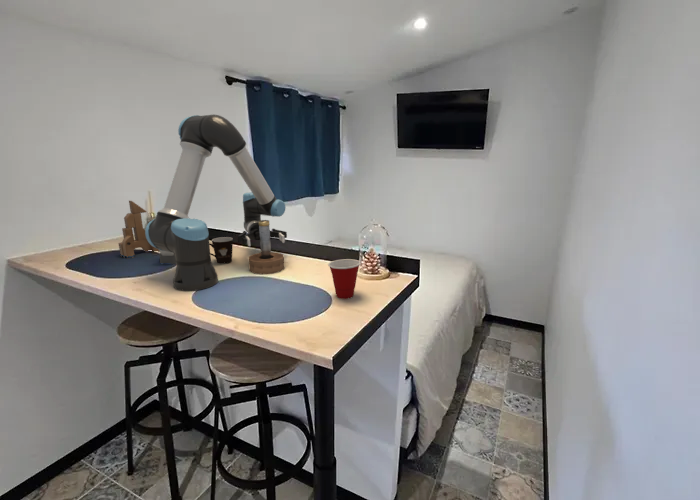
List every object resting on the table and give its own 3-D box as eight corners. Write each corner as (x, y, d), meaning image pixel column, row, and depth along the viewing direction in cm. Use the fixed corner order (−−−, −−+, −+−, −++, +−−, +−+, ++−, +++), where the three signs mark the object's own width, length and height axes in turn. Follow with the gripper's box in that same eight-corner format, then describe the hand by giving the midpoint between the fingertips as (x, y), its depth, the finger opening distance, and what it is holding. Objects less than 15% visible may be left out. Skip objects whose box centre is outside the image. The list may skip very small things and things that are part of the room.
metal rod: (272, 269, 150) (269, 221, 145) (261, 270, 149) (258, 222, 144) (271, 266, 154) (269, 219, 148) (261, 267, 153) (258, 220, 147)
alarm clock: (177, 265, 155) (172, 223, 150) (154, 265, 155) (147, 223, 150) (194, 254, 171) (189, 216, 166) (172, 254, 171) (167, 216, 166)
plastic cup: (342, 287, 131) (342, 255, 128) (366, 294, 125) (367, 261, 122) (321, 296, 123) (321, 262, 120) (346, 304, 117) (346, 269, 113)
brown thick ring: (285, 272, 147) (285, 260, 145) (249, 275, 143) (248, 263, 142) (282, 262, 160) (281, 251, 158) (249, 264, 156) (248, 253, 155)
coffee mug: (237, 258, 164) (235, 237, 161) (229, 264, 156) (227, 242, 153) (212, 258, 165) (210, 236, 162) (203, 263, 157) (201, 241, 154)
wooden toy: (126, 258, 164) (117, 203, 157) (120, 256, 168) (110, 202, 161) (161, 251, 176) (153, 199, 169) (154, 249, 179) (147, 198, 173)
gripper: (284, 235, 170) (297, 246, 151) (228, 241, 160) (235, 253, 141) (283, 219, 168) (296, 229, 149) (227, 224, 158) (233, 234, 139)
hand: (266, 241), depth 145 cm, fingers open, 13 cm apart
